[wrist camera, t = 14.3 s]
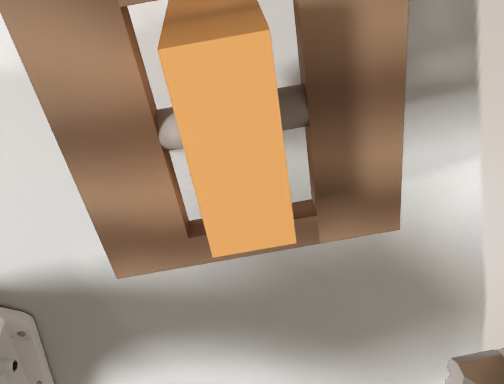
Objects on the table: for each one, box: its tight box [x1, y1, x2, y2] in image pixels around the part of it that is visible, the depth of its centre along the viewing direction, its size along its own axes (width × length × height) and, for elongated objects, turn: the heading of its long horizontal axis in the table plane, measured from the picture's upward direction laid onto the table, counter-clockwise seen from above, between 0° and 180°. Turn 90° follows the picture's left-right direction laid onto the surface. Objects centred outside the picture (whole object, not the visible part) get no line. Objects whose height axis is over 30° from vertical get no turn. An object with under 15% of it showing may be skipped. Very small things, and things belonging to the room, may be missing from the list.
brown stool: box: [0, 0, 409, 279], centre depth 28 cm, size 16×16×14 cm
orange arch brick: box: [157, 0, 296, 258], centre depth 24 cm, size 10×4×12 cm, turn 8°
